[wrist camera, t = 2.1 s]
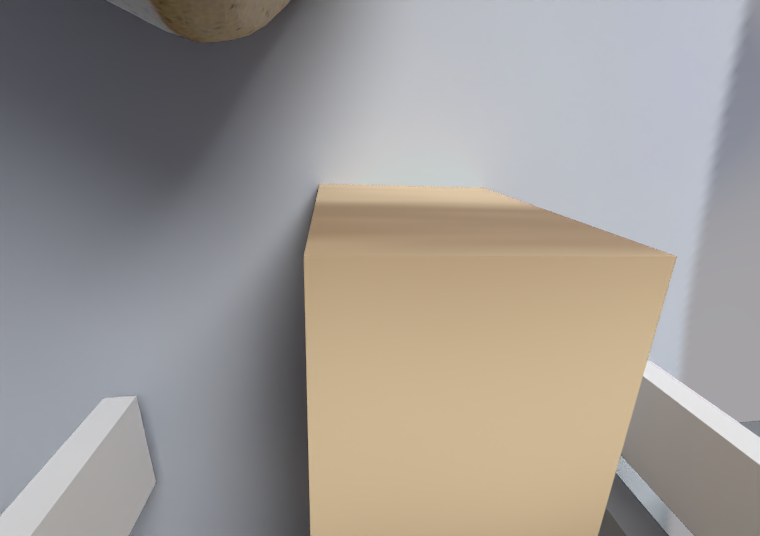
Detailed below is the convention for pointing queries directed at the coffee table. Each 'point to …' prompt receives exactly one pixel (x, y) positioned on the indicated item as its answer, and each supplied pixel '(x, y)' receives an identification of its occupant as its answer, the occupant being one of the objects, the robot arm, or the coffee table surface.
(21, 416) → the coffee table surface
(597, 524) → the tan rectangular block
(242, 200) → the coffee table surface
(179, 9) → the ceramic mug
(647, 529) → the gray bracket pieces
